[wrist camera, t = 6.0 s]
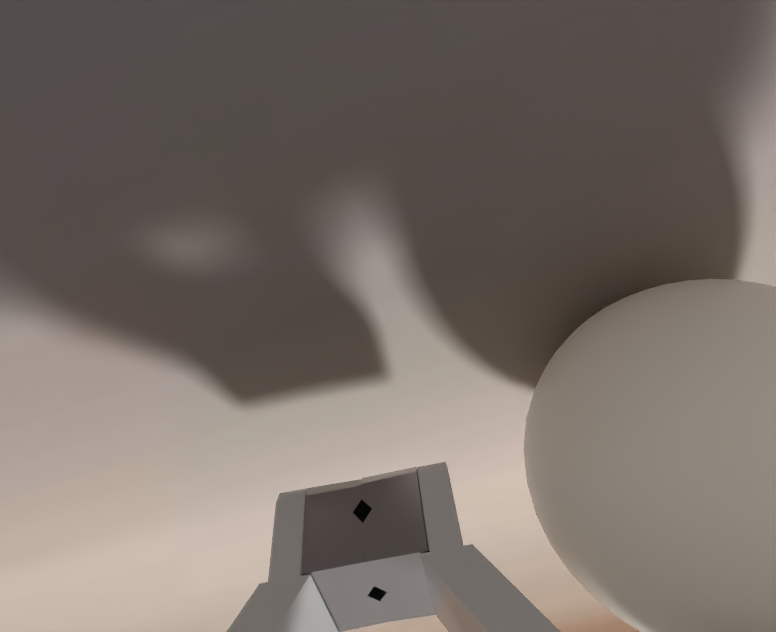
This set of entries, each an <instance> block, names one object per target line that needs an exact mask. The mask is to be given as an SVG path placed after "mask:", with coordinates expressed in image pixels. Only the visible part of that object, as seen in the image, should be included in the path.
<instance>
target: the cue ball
mask: <svg viewBox="0 0 776 632" xmlns="http://www.w3.org/2000/svg"><path fill="white" fill-rule="evenodd" d="M524 457H525V468H526V477H527V483H528V487H529V490H530V494H531V497H532V501H533V504H534V508H535V511H536V514H537V516H538V519H539V521H540V523H541V525H542V527H543V529H544V532H545V534H546V536H547V538H548V540H549V542H550V543H551V545H552V547H553V548H554V550H555V551H556V553H557V554H558V556H559V557H560V559H561V560H562V562H563V563H564V564H565V566H566V567H567V569H568V570H569V571H570V573H571V574H572V575H573V576H574V577H575V578H576V579H577V580H578V582H579V583H580V584H581V585H582V586H583V587H584V588H585V589H586V590H587V591H588V592H589V593H590V594H591V595H592V596H593V597H594V598H595V599H596V600H597V601H598V602H600V603H601V604H602V605H603V606H604V607H606V608H607V609H608V610H609V611H610V612H612V613H613V614H614V615H616V616H617V617H618V618H620V619H621V620H622V621H624V622H625V623H627V624H629V625H630V626H632V627H634V628H635V629H637V630H639V631H640V632H776V287H774V286H770V285H765V284H760V283H754V282H747V281H740V280H730V279H701V280H688V281H682V282H676V283H670V284H664V285H661V286H657V287H653V288H650V289H646V290H643V291H640V292H638V293H635V294H633V295H630V296H627V297H625V298H623V299H621V300H619V301H617V302H615V303H613V304H611V305H609V306H607V307H605V308H604V309H602V310H601V311H599V312H598V313H596V314H595V315H593V316H592V317H590V318H589V319H588V320H586V321H585V322H584V323H583V324H582V325H580V326H579V327H578V328H577V329H576V330H575V331H574V332H573V333H572V334H571V335H570V336H569V337H568V338H567V339H566V340H565V342H564V343H563V344H562V345H561V346H560V347H559V348H558V349H557V351H556V352H555V354H554V355H553V357H552V358H551V359H550V361H549V362H548V364H547V366H546V368H545V370H544V372H543V374H542V376H541V378H540V380H539V382H538V384H537V386H536V388H535V390H534V393H533V397H532V400H531V403H530V407H529V411H528V415H527V418H526V428H525V439H524Z"/></svg>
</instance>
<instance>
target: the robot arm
mask: <svg viewBox="0 0 776 632" xmlns="http://www.w3.org/2000/svg"><path fill="white" fill-rule="evenodd" d="M417 468H418V469H417ZM436 614H437V617H438V618H439V619H440V621H441V622H442V623H443V625H444V626H445V627H446V629H447V630H448V631H449V632H560V631H559V630H558V629H557V628H556V627H555V626H554V625H553V624H552V623H551V622H550V621H549V620H548V619H547V618H546V617H545V616H544V615H543V614H542V613H541V612H540V611H539V610H538V609H537V608H536V607H535V606H534V605H533V604H532V603H531V602H530V601H529V600H528V599H527V598H526V597H525V596H524V595H523V594H522V593H521V592H520V591H519V590H518V589H517V588H516V587H515V586H514V585H513V584H512V583H511V582H510V581H509V580H508V579H507V578H506V577H505V576H504V575H503V574H502V573H501V572H500V571H499V570H498V569H497V568H496V567H495V566H494V565H493V564H492V563H491V562H490V561H488V560H487V559H486V558H485V557H484V556H483V555H482V554H481V553H480V552H479V551H478V550H477V549H476V548H475V547H474V546H473V545H472V544H471V545H464V546H463V541H462V536H461V532H460V527H459V522H458V517H457V512H456V507H455V502H454V498H453V493H452V488H451V483H450V478H449V473H448V468H447V465H446V462H443V463H437V464H432V465H427V466H422V467H414V468H409V469H404V470H399V471H394V472H390V473H385V474H380V475H375V476H370V477H365V478H362V479H361V480H355V481H349V482H343V483H336V484H330V485H324V486H318V487H312V488H307V489H301V490H296V491H290V492H285V493H280V494H279V497H278V499H277V502H276V509H275V518H274V528H273V538H272V548H271V558H270V568H269V577H268V582H265V583H260V584H259V585H258V587H257V588H256V590H255V591H254V593H253V594H252V595H251V597H250V598H249V600H248V601H247V603H246V604H245V606H244V607H243V609H242V610H241V611H240V613H239V614H238V616H237V617H236V619H235V620H234V622H233V623H232V625H231V626H230V627H229V629H228V630H227V632H342V631H346V630H351V629H356V628H361V627H366V626H370V625H375V624H380V623H385V622H390V621H397V620H403V619H410V618H417V617H423V616H430V615H436Z"/></svg>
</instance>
